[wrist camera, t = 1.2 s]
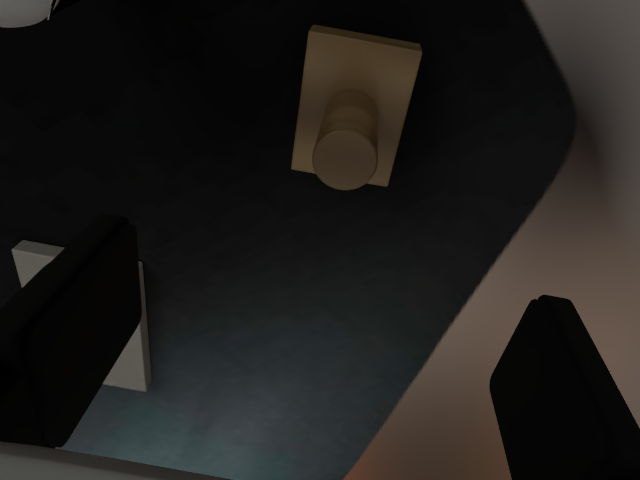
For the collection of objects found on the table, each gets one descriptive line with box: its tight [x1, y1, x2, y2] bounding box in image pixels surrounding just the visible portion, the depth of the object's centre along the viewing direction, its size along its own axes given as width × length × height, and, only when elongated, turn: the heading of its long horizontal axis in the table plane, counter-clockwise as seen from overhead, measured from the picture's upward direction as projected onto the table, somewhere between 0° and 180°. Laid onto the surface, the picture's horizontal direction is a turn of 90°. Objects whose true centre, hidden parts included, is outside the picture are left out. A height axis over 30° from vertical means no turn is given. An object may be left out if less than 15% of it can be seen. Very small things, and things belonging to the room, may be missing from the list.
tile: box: [12, 240, 152, 392], centre depth 34 cm, size 12×8×1 cm, turn 171°
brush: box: [291, 25, 422, 190], centre depth 20 cm, size 6×5×8 cm
